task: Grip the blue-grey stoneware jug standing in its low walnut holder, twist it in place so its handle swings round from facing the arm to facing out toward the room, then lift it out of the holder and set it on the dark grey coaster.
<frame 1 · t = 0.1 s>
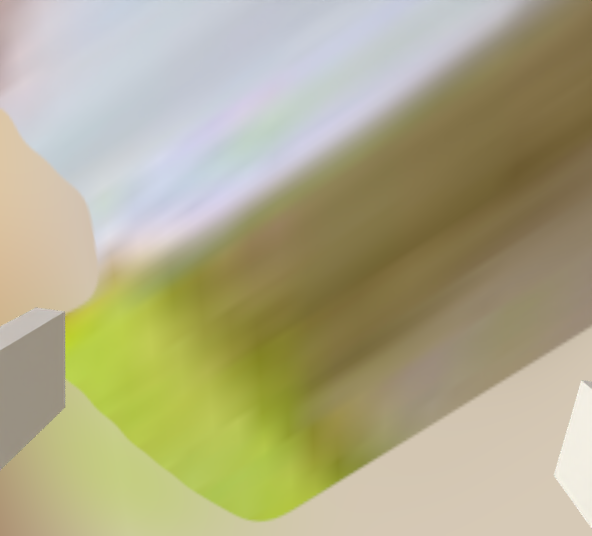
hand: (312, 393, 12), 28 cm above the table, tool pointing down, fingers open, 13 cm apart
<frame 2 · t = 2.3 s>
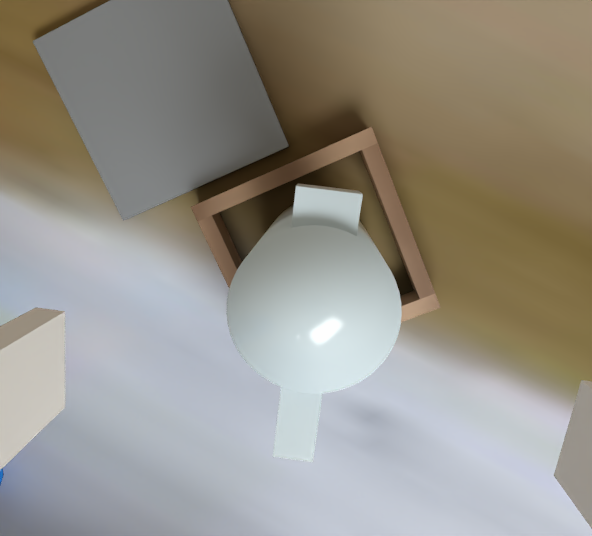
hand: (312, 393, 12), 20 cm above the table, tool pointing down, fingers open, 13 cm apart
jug: (317, 251, 31), resting in holder
coaster: (165, 95, 30), on the table
holder: (317, 251, 31), on the table
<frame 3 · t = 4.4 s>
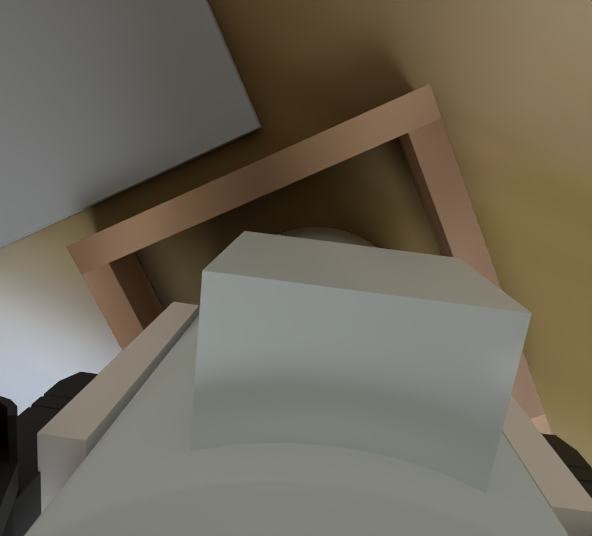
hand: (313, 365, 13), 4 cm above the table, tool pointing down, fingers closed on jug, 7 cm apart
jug: (315, 322, 17), resting in holder, touching gripper
coaster: (20, 28, 15), on the table
holder: (315, 323, 17), on the table
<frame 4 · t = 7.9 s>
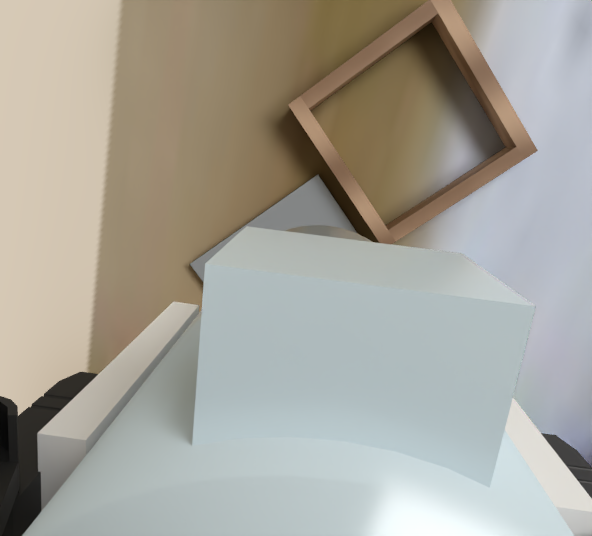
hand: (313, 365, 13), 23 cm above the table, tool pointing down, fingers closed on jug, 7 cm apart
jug: (316, 320, 17), point 19 cm above the table, touching gripper
coaster: (297, 282, 37), on the table
holder: (407, 129, 33), on the table
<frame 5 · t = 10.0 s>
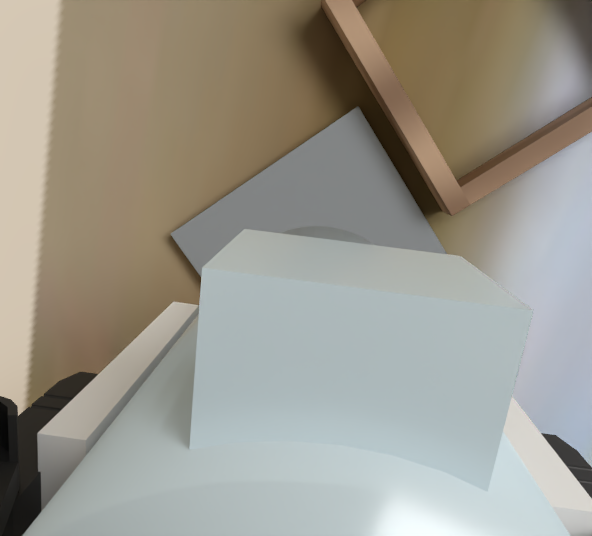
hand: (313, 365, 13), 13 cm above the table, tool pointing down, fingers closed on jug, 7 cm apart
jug: (316, 321, 17), point 9 cm above the table, touching gripper
coaster: (321, 264, 26), on the table
holder: (490, 41, 23), on the table
when the fingers open (5 cm above the table, at t = 11.9 s): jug stays where it is, resting on coaster.
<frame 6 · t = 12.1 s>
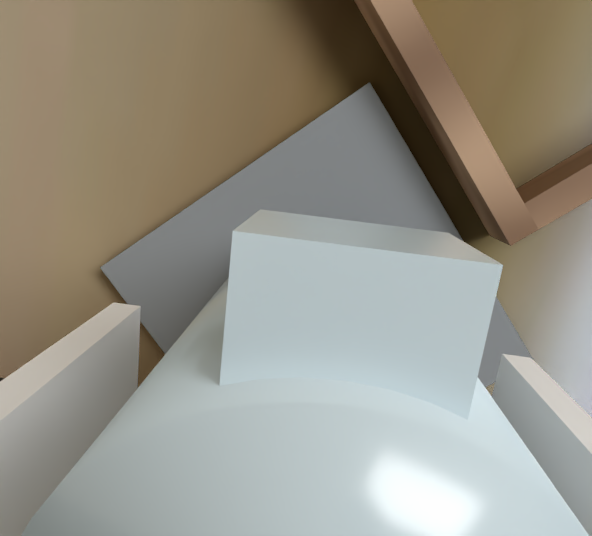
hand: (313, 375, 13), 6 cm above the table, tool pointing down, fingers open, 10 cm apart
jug: (318, 312, 18), point 1 cm above the table, touching coaster
coaster: (316, 309, 18), on the table
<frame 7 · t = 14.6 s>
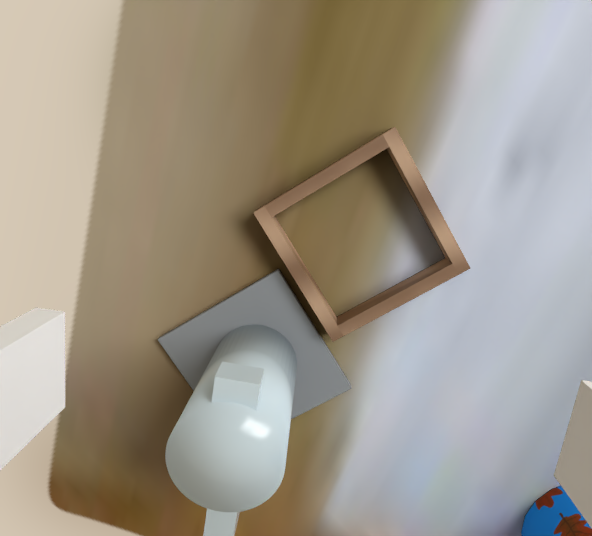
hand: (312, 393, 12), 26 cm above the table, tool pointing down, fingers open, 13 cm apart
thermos: (578, 528, 43), on the table
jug: (255, 363, 40), point 1 cm above the table, touching coaster
coaster: (255, 360, 40), on the table
holder: (359, 236, 37), on the table
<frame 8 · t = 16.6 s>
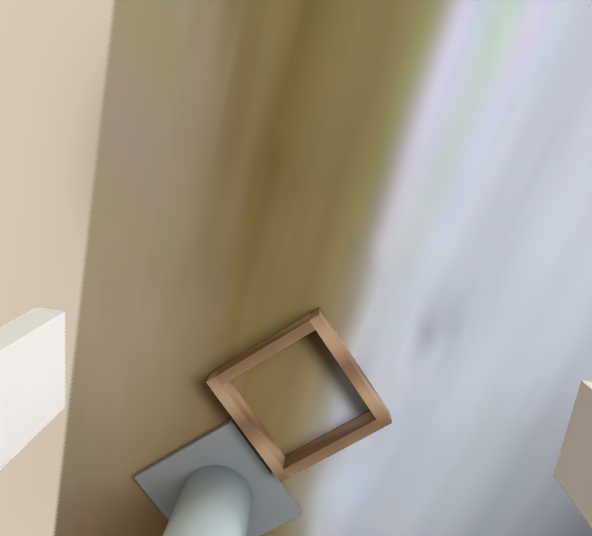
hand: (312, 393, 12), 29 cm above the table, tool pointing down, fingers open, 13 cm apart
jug: (218, 496, 46), point 1 cm above the table, touching coaster
coaster: (218, 492, 47), on the table
holder: (299, 391, 43), on the table
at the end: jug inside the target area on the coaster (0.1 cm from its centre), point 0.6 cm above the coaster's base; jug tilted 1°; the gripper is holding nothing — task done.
